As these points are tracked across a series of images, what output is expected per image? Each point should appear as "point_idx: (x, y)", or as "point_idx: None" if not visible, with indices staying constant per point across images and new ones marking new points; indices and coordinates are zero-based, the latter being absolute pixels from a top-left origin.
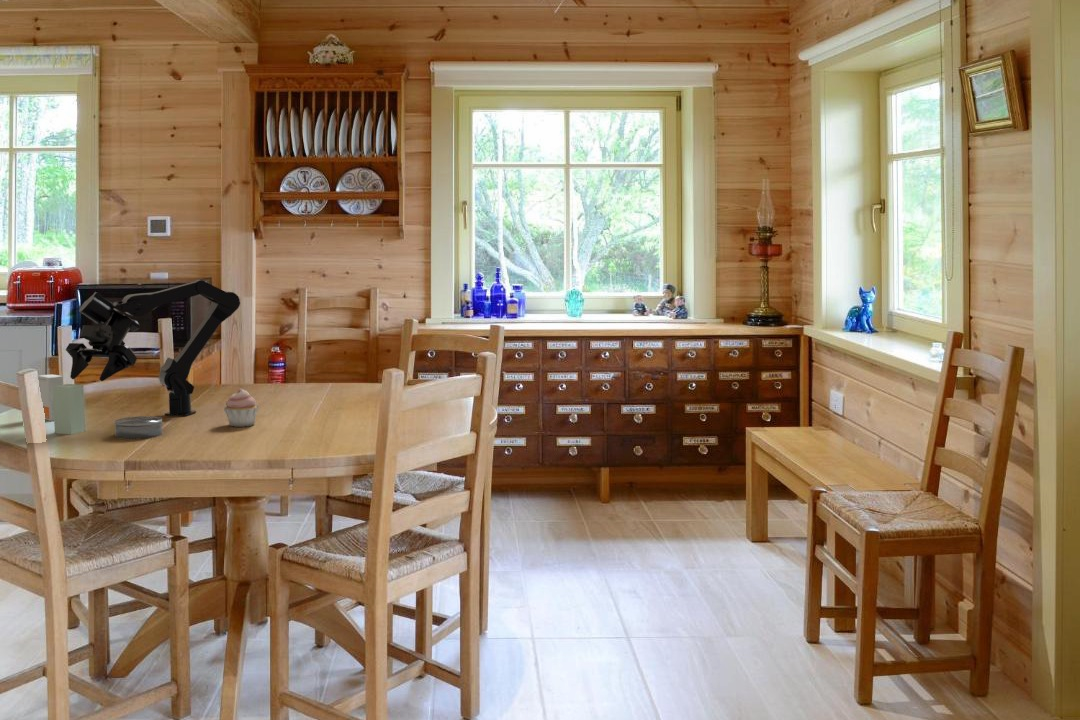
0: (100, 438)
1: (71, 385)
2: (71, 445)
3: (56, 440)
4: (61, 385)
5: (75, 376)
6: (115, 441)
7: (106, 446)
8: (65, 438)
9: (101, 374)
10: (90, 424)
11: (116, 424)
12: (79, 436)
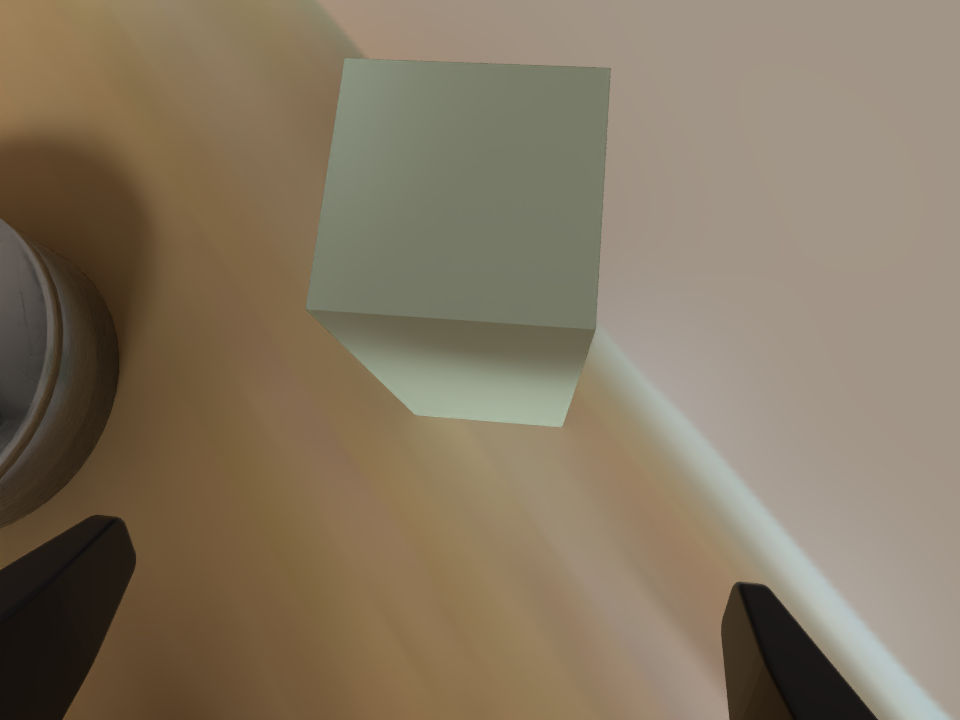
0: (164, 217)
1: (430, 213)
2: (220, 6)
3: None
4: (562, 173)
5: (730, 690)
6: (28, 164)
7: (13, 38)
8: None
9: (54, 568)
10: (555, 684)
11: (2, 219)
12: None
